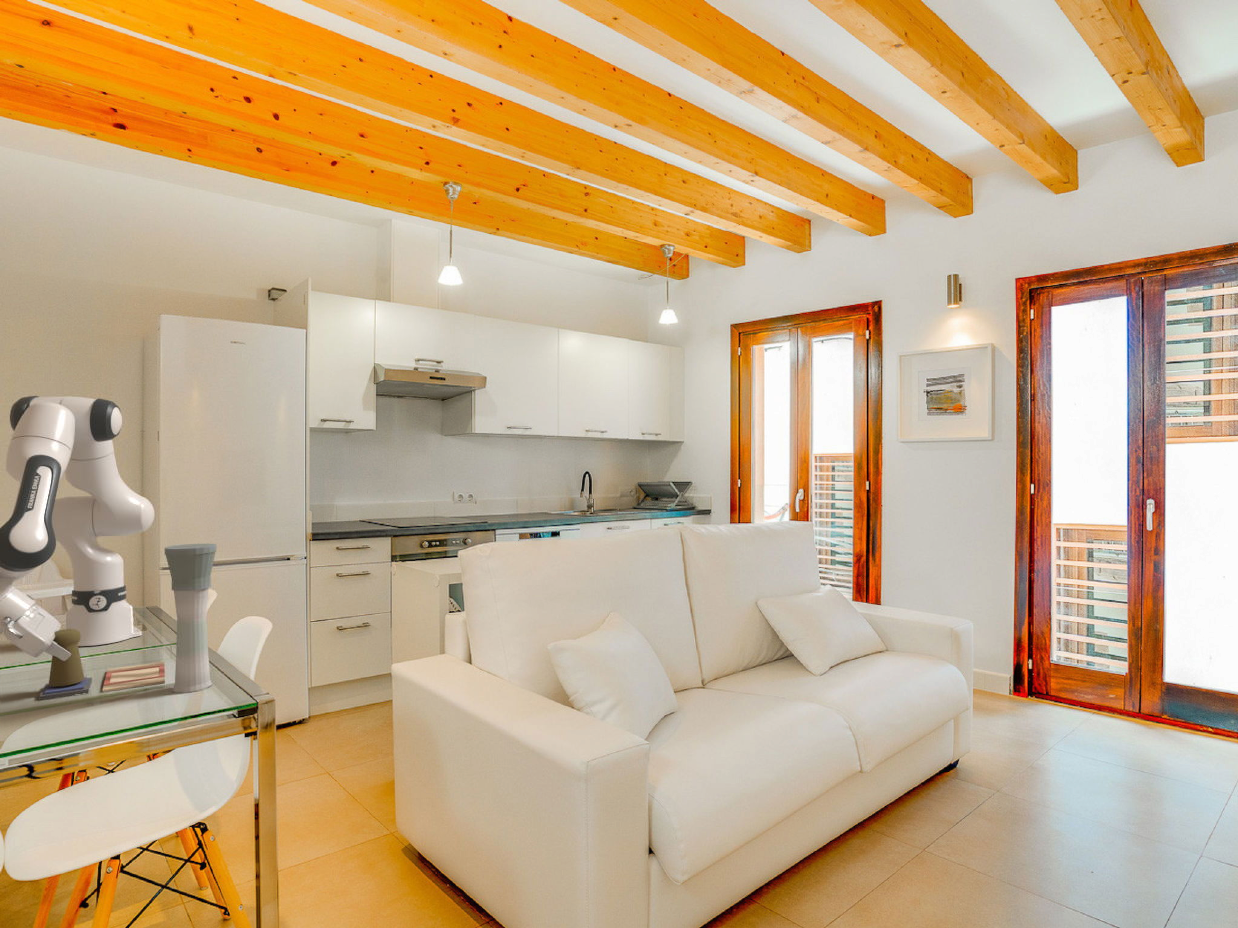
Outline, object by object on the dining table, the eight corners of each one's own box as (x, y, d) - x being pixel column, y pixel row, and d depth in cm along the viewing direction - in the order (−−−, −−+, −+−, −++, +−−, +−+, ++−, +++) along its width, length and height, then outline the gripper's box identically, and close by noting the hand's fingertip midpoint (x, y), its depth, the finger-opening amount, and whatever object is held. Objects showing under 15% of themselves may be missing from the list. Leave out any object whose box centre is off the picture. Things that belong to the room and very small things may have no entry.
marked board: (107, 671, 166) (107, 668, 166) (164, 663, 172) (164, 661, 172) (102, 692, 151) (102, 689, 151) (164, 682, 157) (164, 680, 157)
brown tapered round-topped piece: (64, 687, 149) (62, 634, 149) (41, 685, 150) (39, 632, 150) (91, 677, 155) (90, 626, 155) (68, 676, 156) (67, 625, 156)
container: (157, 690, 152) (155, 547, 152) (202, 678, 160) (200, 542, 160) (182, 697, 147) (179, 549, 147) (227, 684, 155) (225, 544, 155)
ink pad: (45, 687, 155) (45, 681, 155) (91, 680, 159) (91, 675, 159) (39, 700, 146) (39, 694, 146) (88, 693, 150) (88, 687, 150)
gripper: (14, 610, 140) (78, 653, 145) (30, 593, 157) (86, 632, 163) (-16, 637, 138) (50, 679, 143) (4, 616, 155) (62, 655, 160)
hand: (69, 654), depth 153 cm, fingers closed on brown tapered round-topped piece, 4 cm apart
